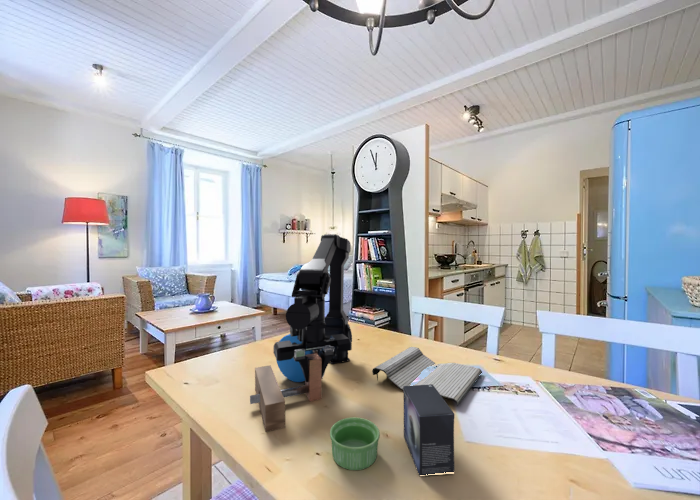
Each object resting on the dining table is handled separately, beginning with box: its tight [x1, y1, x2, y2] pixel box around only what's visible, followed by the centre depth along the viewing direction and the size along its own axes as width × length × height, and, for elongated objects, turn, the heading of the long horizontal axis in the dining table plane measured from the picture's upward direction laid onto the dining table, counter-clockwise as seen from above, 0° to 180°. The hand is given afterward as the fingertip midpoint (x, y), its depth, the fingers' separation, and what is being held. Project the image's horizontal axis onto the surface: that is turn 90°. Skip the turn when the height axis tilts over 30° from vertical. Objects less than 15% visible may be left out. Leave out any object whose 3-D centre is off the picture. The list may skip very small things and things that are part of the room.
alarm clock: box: [275, 333, 326, 383], centre depth 85 cm, size 13×6×15 cm
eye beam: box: [254, 365, 286, 433], centre depth 71 cm, size 4×20×6 cm, turn 23°
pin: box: [249, 353, 322, 405], centre depth 73 cm, size 16×4×10 cm, turn 113°
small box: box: [402, 384, 456, 476], centre depth 55 cm, size 11×6×10 cm, turn 5°
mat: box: [371, 346, 483, 405], centre depth 86 cm, size 23×24×5 cm
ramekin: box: [329, 416, 380, 471], centre depth 55 cm, size 9×9×4 cm
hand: (313, 380), depth 75 cm, fingers closed on pin, 3 cm apart
